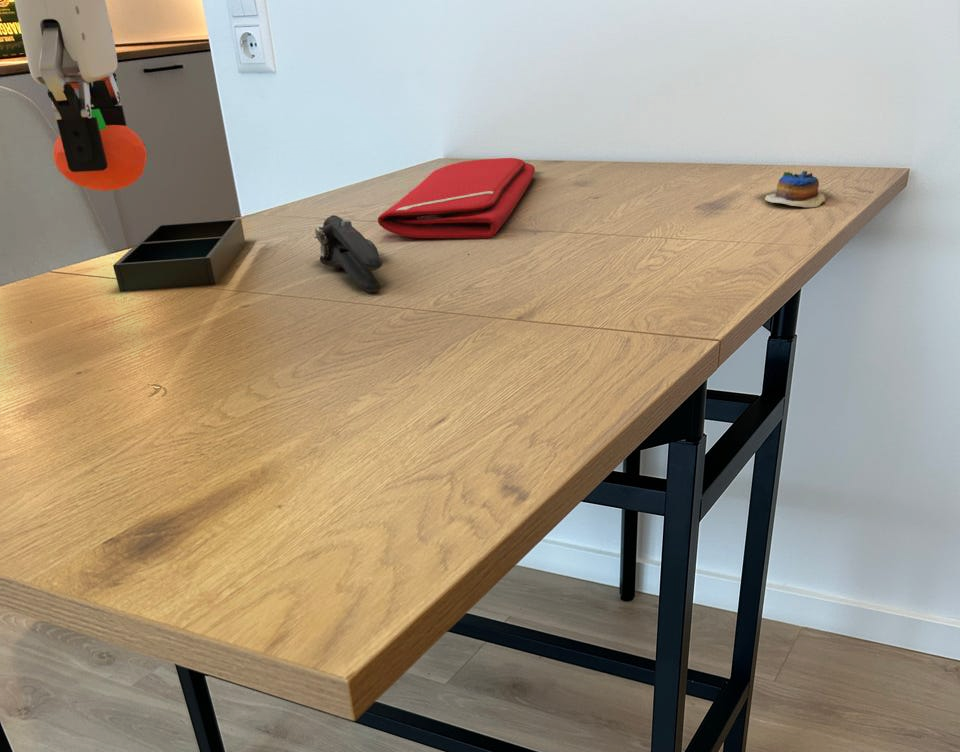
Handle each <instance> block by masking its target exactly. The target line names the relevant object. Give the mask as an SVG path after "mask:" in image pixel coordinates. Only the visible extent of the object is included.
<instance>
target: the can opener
mask: <svg viewBox="0 0 960 752" xmlns="http://www.w3.org/2000/svg"><path fill="white" fill-rule="evenodd" d="M314 233H315V235H314V239H317V241H318V242H319V243H320V246H319V248H320V256H319V262H320V263H321V264H323V265H325V266H328V267H332V268H335V269H343V270H344V271H345V272H346V274H347V275H348V277H349V278H350V279H351V281H353V283H354V284H355V285H356V286H358V287H359V288H360V289H361V290H363V291H365V292H366V293H376V292H379V290H381V288H382V287H381V284H380V282H379V280H378V279H377V278H376V276H375V275H374V274H373V272H372V271H376V270H378V269H381V267H382V266H383V261H382V259H381V257H380V255H379V251H378V248H377V246H376V245H375V243H374V242H373V241H371V240H370V239H368V238H366V237H365V236H364V235H363V234H362V233H361V232H360V231H358V230H357V229H356V228H355V227H353V224H352V221H351V220H349V219H343V218H342V217H340V216H338V215H335V214H333V215H330V216H328V217H327V218H326V219H325V220H324V222H323V225H322V226H318V229H317V228H314ZM371 270H372V271H371Z"/></svg>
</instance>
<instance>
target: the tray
mask: <svg viewBox="0 0 960 752" xmlns="http://www.w3.org/2000/svg"><path fill="white" fill-rule="evenodd" d="M245 244H246V239H245V233H244V228H243V221H242V219H241V218H231V219H218V220H217V219H216V220H204V221H191V222H177V223H165V224H157V225H156V226H154V227H153V228H152V229H151V230H150V231H149V232H148V233H146V235H144V236H143V237H142V238H141V239H140V240H139V241H138V242H137V243H136V244H134V246H133V247H131V248H130V249H129V250H128V251H127V252H125V254H124V255H122V256H121V257H120V258H119V259H118V260H117V261H116V262H115V263H114V264H113V265H112V267H113V271H114V274H115V279H116V282H117V286H118V290H119V293H124V292H138V291H150V290H151V291H152V290H163V289H164V290H165V289H176V288H177V289H178V288H190V287H203V286H216V285H217V283H218V282H219V280H220V279H221V278H222V276H223V275H224V273H225V272H226V270H227V269H228V268H229V266H230V265H231V264H232V262H233V261H234V259H236V257H237V256H238V254H239V252H240V251H241V249H242V248H243V247H244V245H245Z"/></svg>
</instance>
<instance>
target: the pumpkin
mask: <svg viewBox="0 0 960 752" xmlns="http://www.w3.org/2000/svg"><path fill="white" fill-rule="evenodd" d="M91 117H97V121H98V126H99V130H100V134H101V139H102V143H103V147H104V152H105V156H106V160H107V165H108V166H107V168H106V169H105V170H102V171H83V172H72V171H70V169H69V168H68V164H67V160H66V156H65V152H64V148H63V144H62V140H61V136H60V135H59V136H58V137H57V138H56V140H55V142H54V145H53V152H52V153H53V156H52V157H53V158H52V159H53V162H54V164H55V166H56V168H57V171H58V172H60V174H61V175H62V176H63V177H64V178H66V180H69V182H72V183H73V184H76V185H77V186H80V187H82V188H85V189H88V190H92V191H99V192H109V191H117V190H121V189H123V188H126V187H129V186H131V185H132V184H134V182H136V181H137V180H139V179H140V177H141V176H142V175H143V174H144V171H145V167H146V166H147V165H146V164H147V163H146V162H147V148H146V146H145V145H146V144H145V143H144V142H143V140H142V139H141V138H140V137H139V135H138V134H137V133H136V131H134V130H132V129H131V128H130V127H128V126H122V125H107V126H106V124H105V122H104V119H103V117H102V115H101V112H100V110H99V109H91Z"/></svg>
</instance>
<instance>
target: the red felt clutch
mask: <svg viewBox="0 0 960 752" xmlns="http://www.w3.org/2000/svg"><path fill="white" fill-rule="evenodd" d="M535 172H536V169H535V166H534V165H533V164H531V163H528V162H527V163H526V161H524V160H523V159H520V158H515V157H499V158H487V159H485V158H483V159H475V160H474V159H473V160H466V161H460V162H455V163H450V164H448V165H444V166H442V167H440V168H437V169H435V170H433V171H432V172H431V173H430V174H429V175H428V176H427V177H425V179H423V180H422V181H421V182H420V183H419V184H418V185H416V187H414V188H413V189H411V190H410V191H409V192H408V193H407V194H406V195H405V196H403V197H402V198H401V199H400V200H399V201H396V203H395V204H393V205H392V206H390V207H389V208H388V209H386V210H385V211H383V212H382V213H381V214H379V216H378V217H377V223H378V225H379V226H380V227H381V228H383V230H385V231H388V232H390V233H392V234H395V235H397V236H401V237H406V238H407V237H408V238H416V239H489V238H491V237H494V235H496V234H497V232H498V231H499V230H500V228H501V227H502V225H504V223H505V222H506V220H507V219H508V218H509V217H510V215H511V214H512V213H513V210H514V209H515V208H516V206H517V204H518V203H519V201H520V200H521V198H522V196H523V195H524V193H526V190H527V189H528V187H529V185H530V184H531V182H532V180H533V178H534V175H535Z"/></svg>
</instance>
